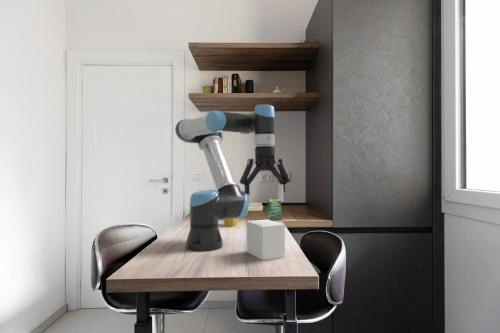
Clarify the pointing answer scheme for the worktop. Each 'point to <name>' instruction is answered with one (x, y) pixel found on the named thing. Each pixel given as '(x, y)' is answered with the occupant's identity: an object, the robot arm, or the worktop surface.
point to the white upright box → (266, 239)
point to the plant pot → (231, 222)
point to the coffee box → (274, 209)
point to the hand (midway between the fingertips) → (265, 202)
